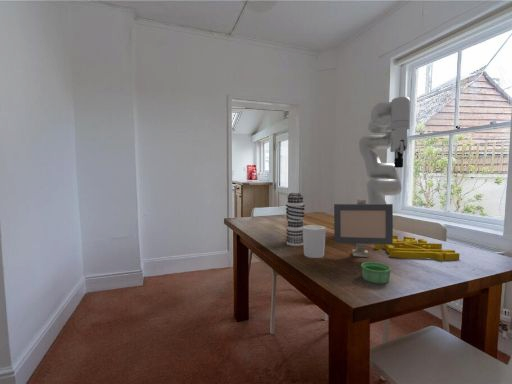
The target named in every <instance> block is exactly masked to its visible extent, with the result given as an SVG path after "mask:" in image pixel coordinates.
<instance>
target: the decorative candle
mask: <svg viewBox="0 0 512 384" xmlns="http://www.w3.org/2000/svg"><path fill="white" fill-rule="evenodd" d="M286 197H287V202H286V203H287V204H285V207H286V208H285V211H286V212H285V213H286V221H287V225H286V226H287V228H286V239H285V241H286V244H287V245H288V246H292V247H299V246H303V230H302V227H303V226H304V221H305V219H304V218H305V215H304V214H305V211H304V210H305V208H304V207H305V206H306V205H305V204H304V196H303V195H302V193H301V192H290V193H288V195H287V196H286Z"/></svg>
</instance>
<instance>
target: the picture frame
mask: <svg viewBox="0 0 512 384" xmlns="http://www.w3.org/2000/svg"><path fill="white" fill-rule="evenodd" d="M333 206H334V207H333V214H334V215H333V218H334V219H333V222H334V223H333V226H334V227H333V229H334V243H336V244H337V243H338V244H356V243H357V244H365V245H366V244H367V245H375V244H385V245H393V235H394V234H393V233H394V231H393V227H394V225H393V221H394V220H393V219H394V217H393V216H394V215H393V213H394V211H393V209H394V206H393V204H392V203H386V204H368V203H366V204H357V203H334V204H333Z"/></svg>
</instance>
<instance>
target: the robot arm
mask: <svg viewBox="0 0 512 384" xmlns="http://www.w3.org/2000/svg"><path fill="white" fill-rule="evenodd" d="M410 116H411V99H410V98H409V97H408V96H398V97H395V98H393V99H392V100H391V101H384V102H382V101H381V102H378V103H376V104H375V105H374V106H373V107H372V109H371V111H370V121H369V122H368V125H367V129H368V131H369V132H371V133H372V134H371V135H365V136H362V137H360V139H359V141H358V148H359V149H358V151H359V152H360V155H361V157H362V158H363V161H364V166H365V172H366V175H367V177H368V178H369V180H368V181H367V183H366V192H367V204H387V201H386V200H385V199H384V198H383V197H384V196H398V195H400V194H401V192H402V190H403V189H402V182H401V178H400V174H399V171H398V168H401V169H402V168H404V152H406V150H407V149H408V130H410V119H411V117H410ZM388 149H389V150H390V152H391V153H394V162H393V163H392V162H381V158H380V156H379V154H378V153H377V152H376V151H374V150H388Z"/></svg>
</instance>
